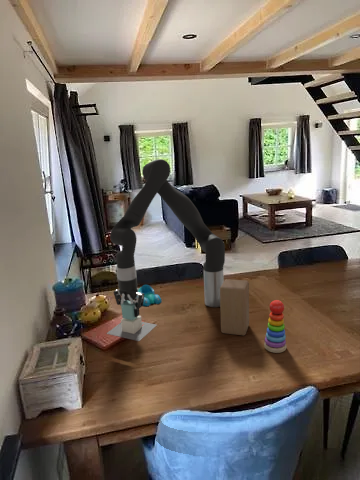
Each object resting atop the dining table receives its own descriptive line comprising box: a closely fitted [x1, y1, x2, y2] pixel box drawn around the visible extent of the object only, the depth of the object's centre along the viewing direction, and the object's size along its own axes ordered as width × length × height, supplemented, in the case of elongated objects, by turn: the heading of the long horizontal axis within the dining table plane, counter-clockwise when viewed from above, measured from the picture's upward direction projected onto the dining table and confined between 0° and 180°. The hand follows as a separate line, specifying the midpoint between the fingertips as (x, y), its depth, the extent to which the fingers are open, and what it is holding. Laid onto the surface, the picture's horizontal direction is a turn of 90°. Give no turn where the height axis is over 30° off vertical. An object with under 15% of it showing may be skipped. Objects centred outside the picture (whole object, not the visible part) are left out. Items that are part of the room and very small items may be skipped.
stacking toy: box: [263, 299, 287, 354], centre depth 132 cm, size 8×8×19 cm
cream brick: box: [120, 315, 143, 334], centre depth 151 cm, size 6×6×5 cm
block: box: [219, 278, 250, 336], centre depth 147 cm, size 10×10×20 cm
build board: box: [106, 321, 158, 342], centre depth 152 cm, size 16×14×1 cm
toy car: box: [137, 284, 163, 307], centre depth 183 cm, size 11×18×7 cm, turn 24°
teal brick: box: [120, 300, 136, 320], centre depth 150 cm, size 5×5×6 cm
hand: (130, 315), depth 150 cm, fingers closed on teal brick, 5 cm apart
